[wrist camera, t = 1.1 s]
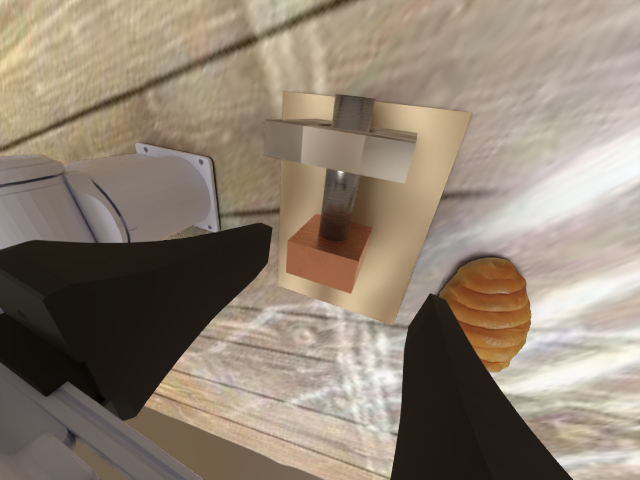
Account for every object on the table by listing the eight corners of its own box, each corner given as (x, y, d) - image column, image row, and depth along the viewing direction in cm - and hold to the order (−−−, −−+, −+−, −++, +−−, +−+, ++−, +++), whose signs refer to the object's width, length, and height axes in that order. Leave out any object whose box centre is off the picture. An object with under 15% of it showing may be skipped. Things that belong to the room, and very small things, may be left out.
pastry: (440, 247, 19) (445, 273, 16) (545, 257, 17) (575, 290, 14) (425, 332, 23) (427, 366, 20) (508, 349, 21) (525, 390, 18)
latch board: (284, 277, 26) (237, 333, 20) (292, 92, 18) (213, 78, 11) (394, 314, 23) (384, 395, 17) (468, 113, 15) (509, 111, 8)
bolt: (313, 240, 20) (286, 272, 16) (328, 95, 14) (294, 88, 11) (365, 255, 18) (351, 294, 14) (402, 103, 13) (395, 99, 9)
